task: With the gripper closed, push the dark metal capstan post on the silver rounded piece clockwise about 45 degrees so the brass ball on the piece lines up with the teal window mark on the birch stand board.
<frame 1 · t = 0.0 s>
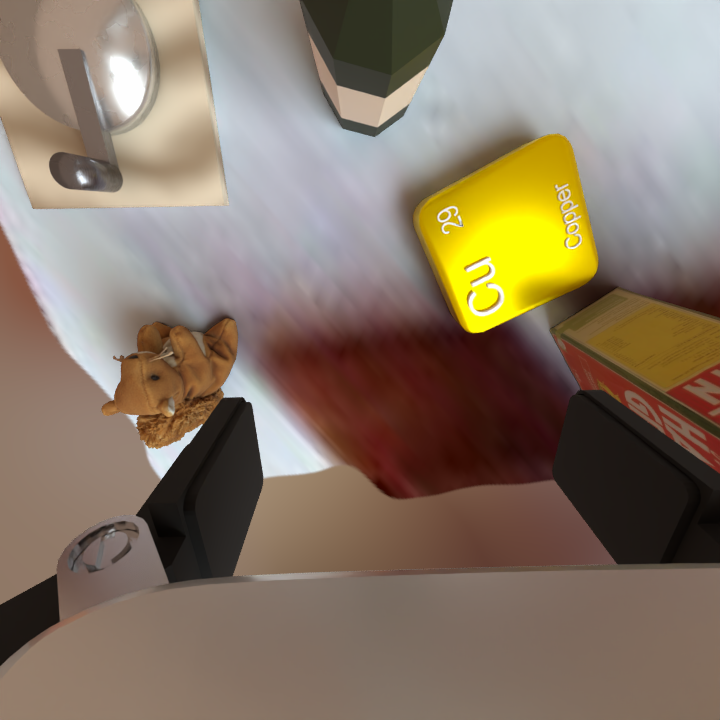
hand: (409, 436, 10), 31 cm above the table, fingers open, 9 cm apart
silver rounded piece: (63, 57, 27), point 5 cm above the table, hinge at 0.0°
stand board: (101, 62, 31), on the table
food packaging: (601, 348, 43), on the table
element tile: (495, 240, 38), on the table
wine bottle: (367, 86, 33), on the table
stuffed squirrel: (201, 364, 43), on the table
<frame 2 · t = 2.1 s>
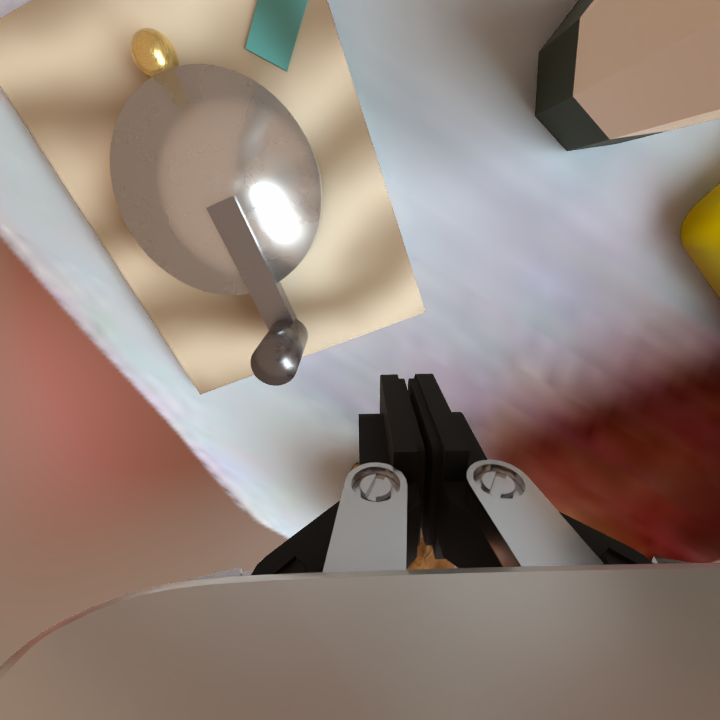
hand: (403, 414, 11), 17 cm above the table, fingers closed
silver rounded piece: (221, 217, 20), point 5 cm above the table, hinge at 0.0°
stand board: (237, 195, 24), on the table
wine bottle: (598, 76, 22), on the table
stuffed squirrel: (412, 491, 35), on the table
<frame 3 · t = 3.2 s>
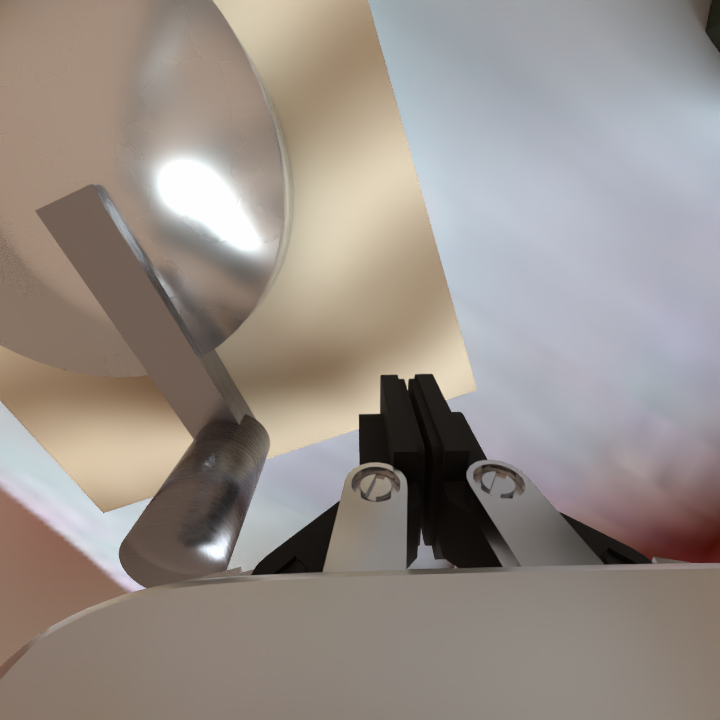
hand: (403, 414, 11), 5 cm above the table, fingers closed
silver rounded piece: (56, 231, 9), point 5 cm above the table, hinge at 0.0°
stand board: (140, 187, 13), on the table
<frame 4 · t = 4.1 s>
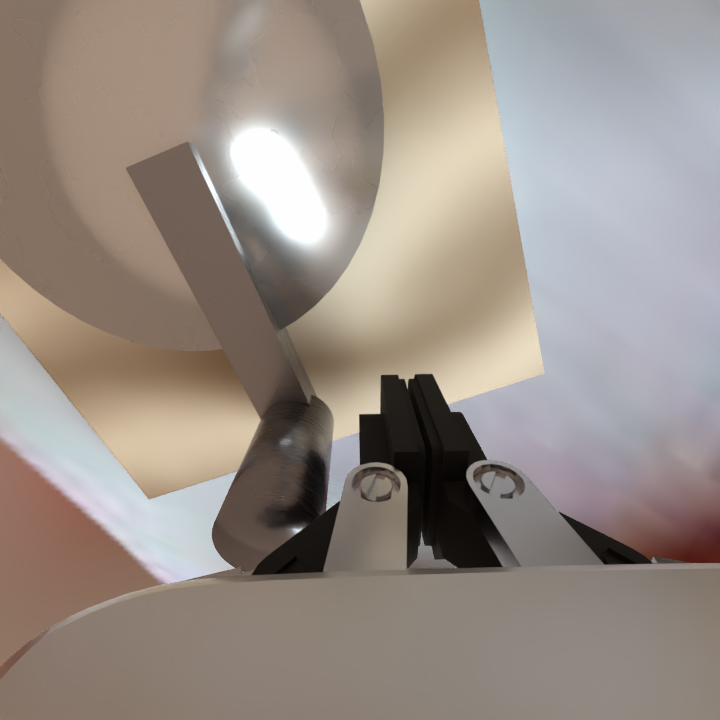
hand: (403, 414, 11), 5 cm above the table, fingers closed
silver rounded piece: (154, 187, 8), point 5 cm above the table, hinge at 1.2°, touching gripper
stand board: (209, 157, 13), on the table
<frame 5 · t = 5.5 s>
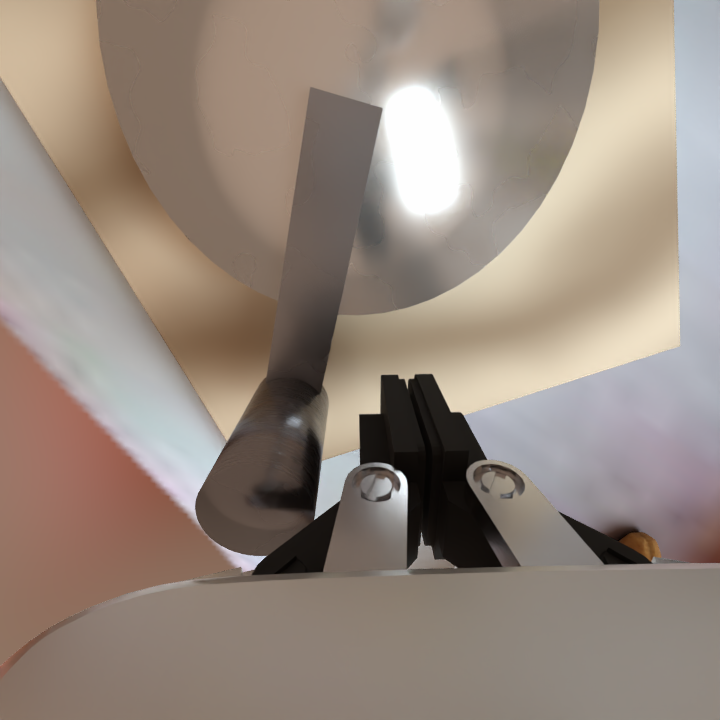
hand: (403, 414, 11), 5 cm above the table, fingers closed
silver rounded piece: (338, 128, 8), point 5 cm above the table, hinge at 33.8°, touching gripper
stand board: (352, 119, 12), on the table
stuffed squirrel: (561, 607, 23), on the table
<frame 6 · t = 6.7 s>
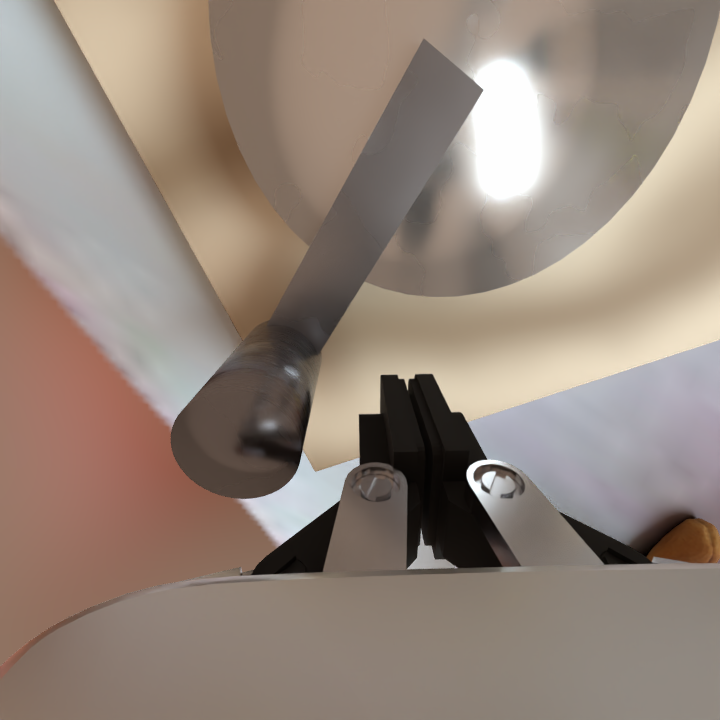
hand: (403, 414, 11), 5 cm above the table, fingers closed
silver rounded piece: (442, 88, 8), point 5 cm above the table, hinge at 53.4°
stand board: (430, 97, 12), on the table
stuffed squirrel: (611, 595, 23), on the table
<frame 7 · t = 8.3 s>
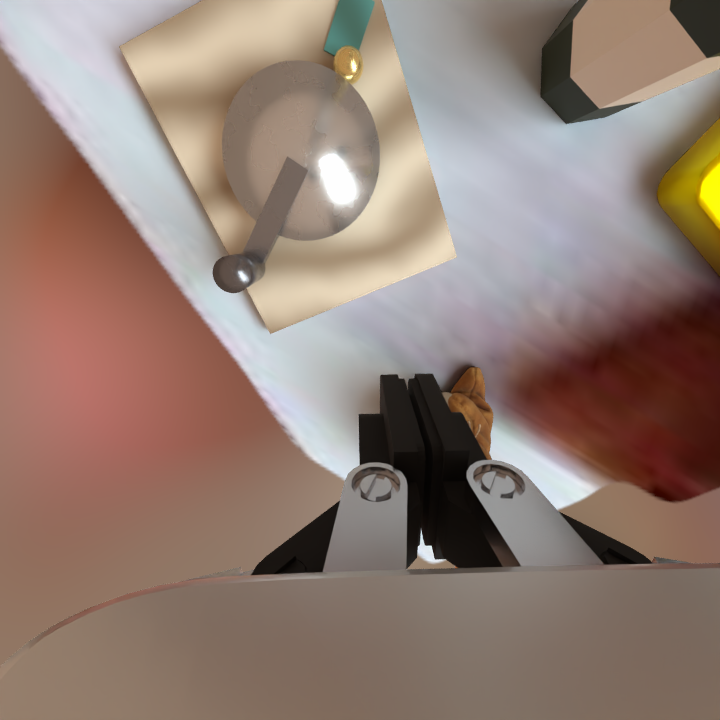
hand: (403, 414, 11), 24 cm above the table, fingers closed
silver rounded piece: (290, 172, 26), point 5 cm above the table, hinge at 53.4°
stand board: (307, 165, 30), on the table
wine bottle: (588, 65, 28), on the table
stuffed squirrel: (445, 423, 40), on the table
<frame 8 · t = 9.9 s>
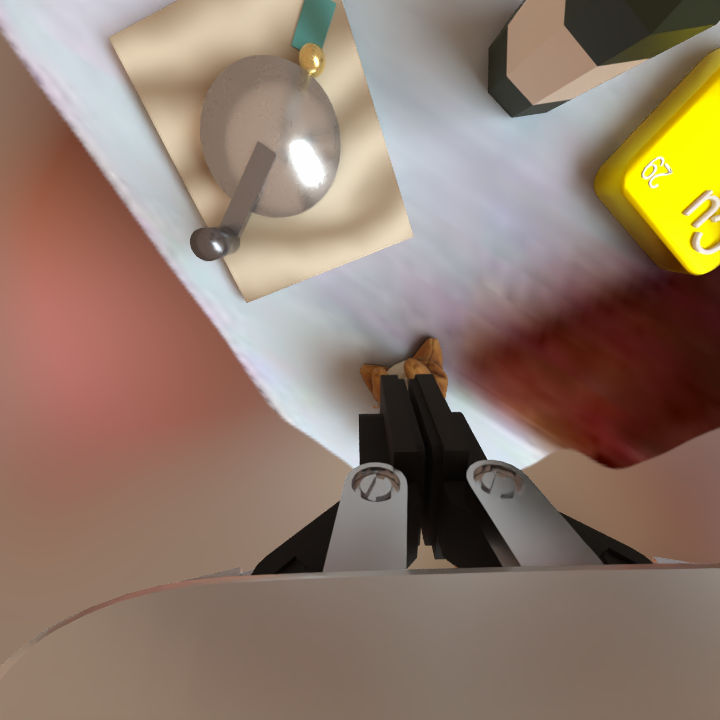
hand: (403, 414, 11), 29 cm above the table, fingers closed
silver rounded piece: (260, 155, 29), point 5 cm above the table, hinge at 53.4°
stand board: (279, 149, 34), on the table
element tile: (687, 171, 35), on the table
wine bottle: (530, 65, 31), on the table
stuffed squirrel: (408, 390, 44), on the table
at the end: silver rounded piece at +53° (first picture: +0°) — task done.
